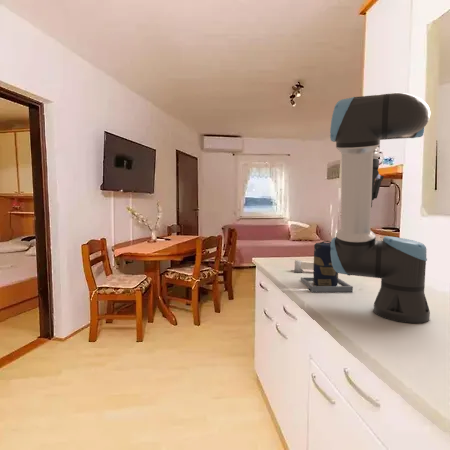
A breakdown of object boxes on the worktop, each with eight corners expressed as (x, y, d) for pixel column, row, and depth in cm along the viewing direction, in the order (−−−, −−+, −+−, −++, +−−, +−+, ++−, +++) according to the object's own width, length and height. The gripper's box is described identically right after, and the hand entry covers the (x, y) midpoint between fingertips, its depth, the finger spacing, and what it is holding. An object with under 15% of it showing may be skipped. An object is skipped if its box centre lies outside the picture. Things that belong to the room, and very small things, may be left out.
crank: (294, 271, 153) (294, 257, 153) (294, 270, 157) (295, 256, 156) (329, 274, 149) (329, 259, 149) (328, 272, 153) (329, 258, 152)
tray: (352, 292, 124) (352, 286, 124) (311, 292, 123) (312, 286, 123) (337, 282, 139) (337, 277, 138) (300, 282, 138) (300, 277, 137)
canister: (339, 289, 125) (341, 242, 124) (313, 288, 127) (315, 241, 126) (335, 283, 135) (337, 239, 133) (312, 282, 137) (313, 238, 135)
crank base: (306, 275, 152) (306, 273, 152) (293, 275, 151) (293, 273, 151) (302, 272, 158) (302, 270, 158) (290, 272, 157) (290, 270, 157)
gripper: (360, 157, 132) (357, 215, 134) (389, 158, 134) (386, 216, 136) (349, 159, 139) (347, 214, 141) (377, 160, 142) (374, 215, 144)
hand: (366, 215), depth 139 cm, fingers closed
